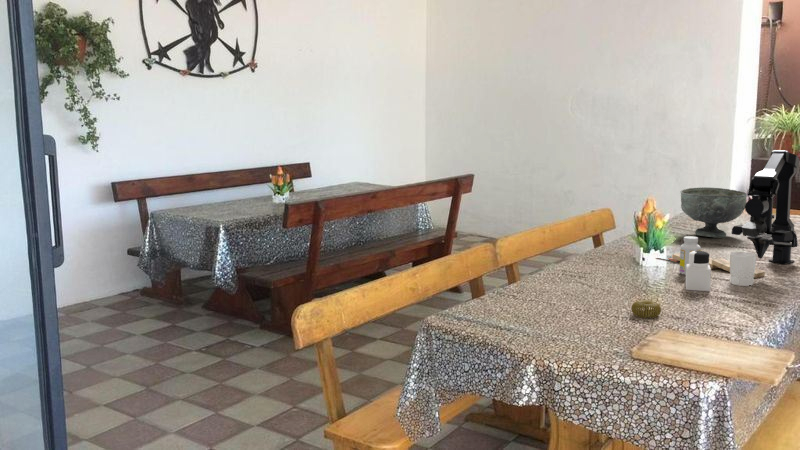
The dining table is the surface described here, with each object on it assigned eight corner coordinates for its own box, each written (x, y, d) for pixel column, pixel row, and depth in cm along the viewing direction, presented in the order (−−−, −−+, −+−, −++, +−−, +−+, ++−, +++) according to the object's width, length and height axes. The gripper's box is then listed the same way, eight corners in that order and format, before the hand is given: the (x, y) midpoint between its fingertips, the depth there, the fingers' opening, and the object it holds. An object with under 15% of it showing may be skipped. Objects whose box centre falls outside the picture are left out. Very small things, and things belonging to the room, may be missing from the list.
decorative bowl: (748, 233, 329) (751, 188, 325) (739, 243, 307) (742, 195, 304) (686, 229, 343) (688, 186, 339) (673, 238, 321) (675, 192, 318)
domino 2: (684, 261, 279) (664, 258, 286) (684, 257, 278) (664, 254, 286) (676, 263, 276) (656, 259, 283) (676, 259, 276) (656, 255, 283)
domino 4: (742, 271, 259) (720, 262, 266) (743, 267, 259) (721, 258, 266) (733, 273, 257) (711, 264, 264) (734, 269, 256) (712, 259, 263)
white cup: (757, 287, 238) (759, 256, 236) (731, 286, 240) (733, 256, 238) (751, 281, 246) (753, 251, 244) (726, 280, 247) (727, 251, 246)
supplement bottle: (702, 273, 258) (704, 237, 256) (695, 276, 253) (697, 239, 251) (683, 270, 263) (685, 234, 260) (676, 274, 258) (677, 237, 256)
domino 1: (701, 263, 273) (680, 256, 280) (701, 259, 272) (680, 252, 279) (693, 265, 270) (672, 258, 277) (693, 261, 270) (672, 254, 277)
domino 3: (721, 267, 266) (701, 258, 273) (722, 263, 265) (702, 254, 273) (711, 268, 264) (691, 259, 271) (712, 264, 263) (692, 255, 271)
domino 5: (764, 275, 252) (740, 266, 259) (765, 271, 252) (742, 262, 259) (755, 278, 250) (731, 268, 257) (756, 273, 249) (733, 263, 256)
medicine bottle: (708, 286, 240) (710, 250, 238) (710, 291, 234) (712, 254, 232) (685, 284, 243) (686, 249, 241) (686, 290, 236) (687, 253, 234)
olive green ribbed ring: (648, 297, 215) (667, 304, 207) (647, 310, 215) (666, 317, 208) (625, 300, 212) (644, 307, 204) (625, 314, 212) (644, 321, 205)
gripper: (722, 211, 251) (720, 256, 254) (775, 218, 235) (772, 266, 238) (742, 208, 257) (740, 252, 259) (795, 214, 241) (792, 261, 244)
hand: (760, 257), depth 250 cm, fingers closed
